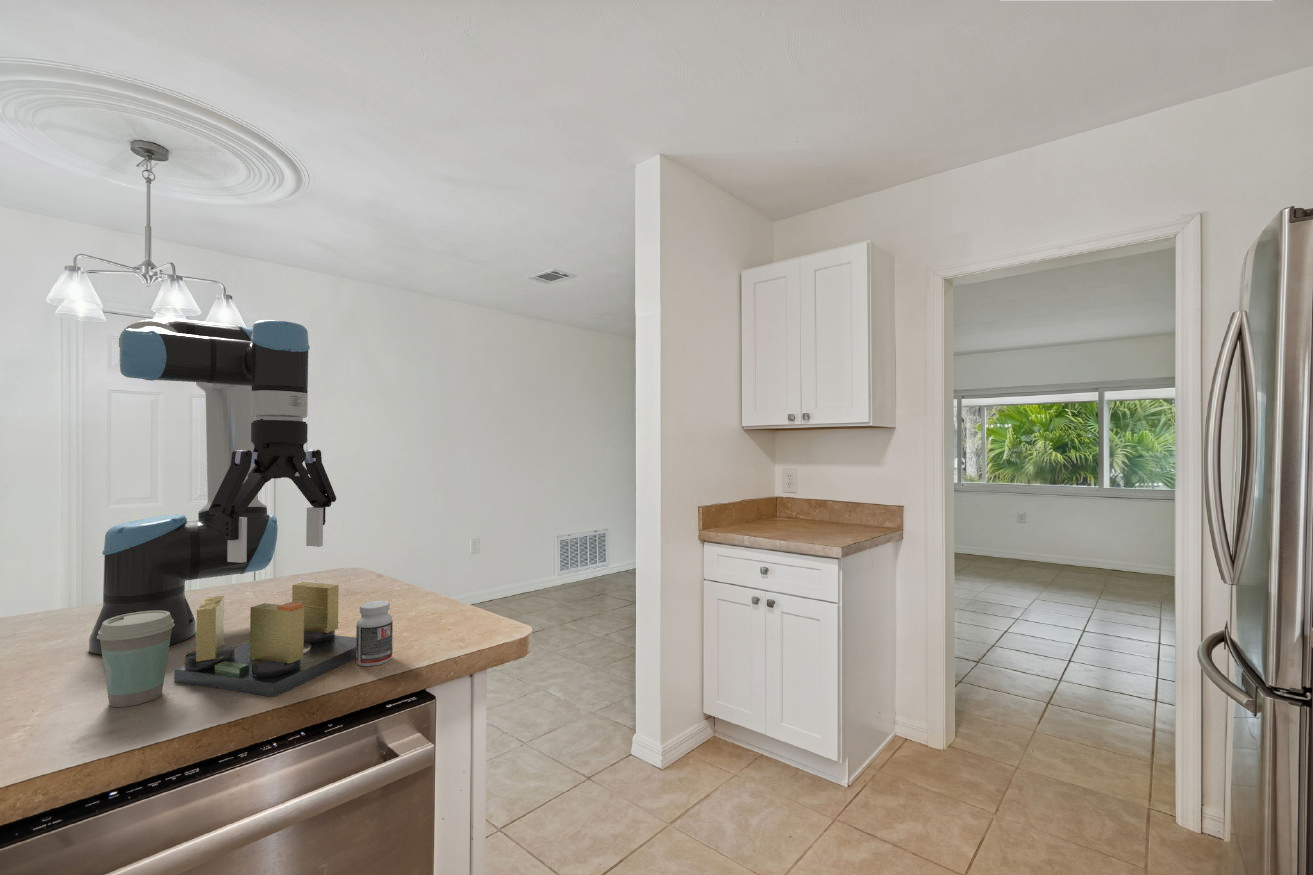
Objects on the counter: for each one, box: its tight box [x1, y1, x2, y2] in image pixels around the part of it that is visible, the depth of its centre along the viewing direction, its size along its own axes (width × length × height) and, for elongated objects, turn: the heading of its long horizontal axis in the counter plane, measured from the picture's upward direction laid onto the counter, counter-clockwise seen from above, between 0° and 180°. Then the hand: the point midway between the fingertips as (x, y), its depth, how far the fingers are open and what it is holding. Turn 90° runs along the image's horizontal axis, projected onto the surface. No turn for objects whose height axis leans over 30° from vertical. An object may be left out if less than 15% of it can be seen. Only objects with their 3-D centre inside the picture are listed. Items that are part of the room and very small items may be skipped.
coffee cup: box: [97, 611, 175, 708], centre depth 85 cm, size 9×8×12 cm
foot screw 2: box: [291, 581, 340, 645], centre depth 105 cm, size 8×6×10 cm
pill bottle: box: [355, 600, 394, 667], centre depth 100 cm, size 6×6×10 cm
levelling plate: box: [173, 634, 356, 698], centre depth 98 cm, size 20×20×3 cm
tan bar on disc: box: [249, 601, 304, 679], centre depth 91 cm, size 8×6×11 cm
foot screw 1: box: [184, 595, 235, 672], centre depth 93 cm, size 8×6×10 cm
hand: (278, 553), depth 91 cm, fingers open, 13 cm apart
